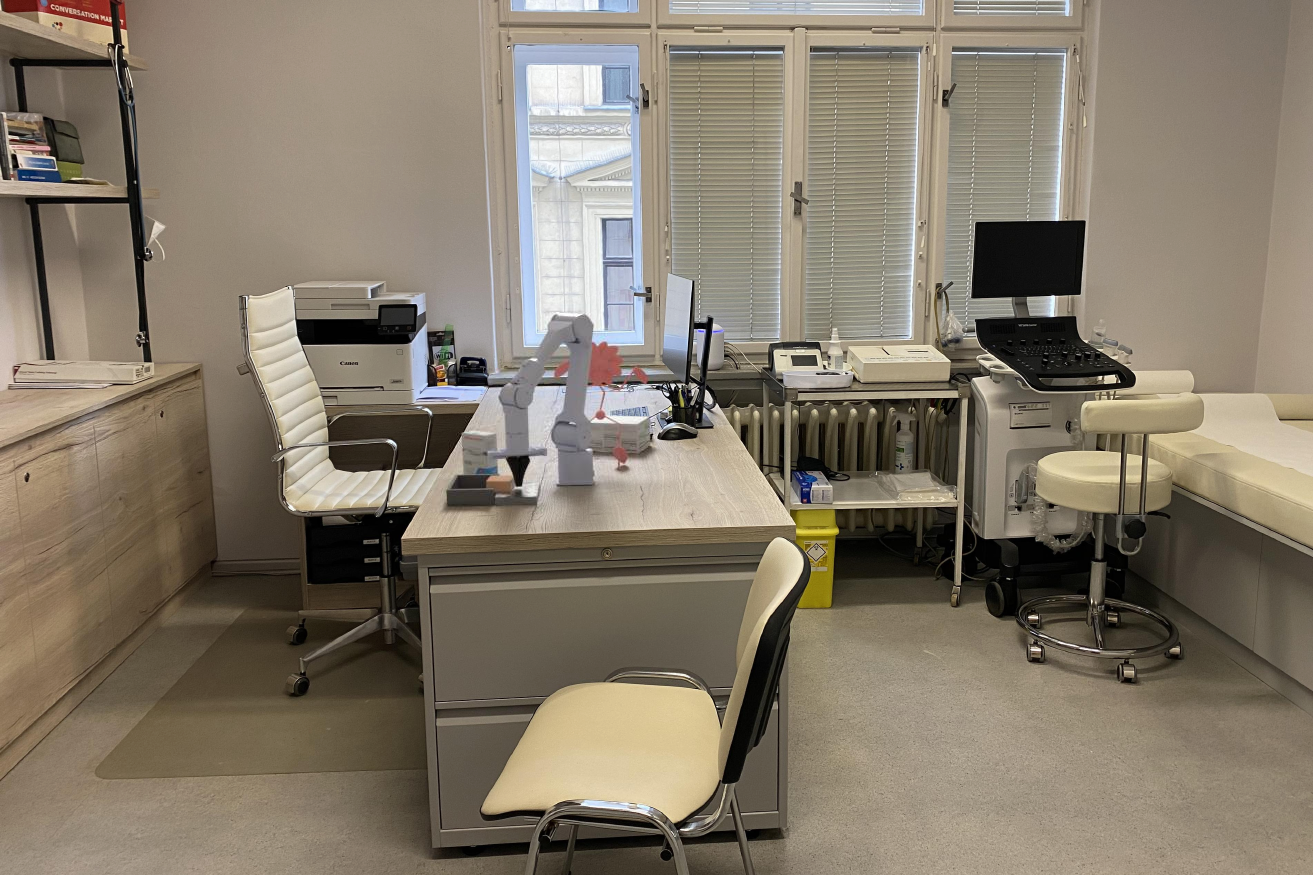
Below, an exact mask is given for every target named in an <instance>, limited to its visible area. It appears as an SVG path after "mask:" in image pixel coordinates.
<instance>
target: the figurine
mask: <svg viewBox="0 0 1313 875" xmlns="http://www.w3.org/2000/svg"><path fill="white" fill-rule="evenodd" d="M618 351H619V347H618V346H616V345H608V341H602V342H601V343H599V344H598V345H597V344H596V343H595V342H594V341H592V354H591V361H590V369H589V377H588V381H590V380H592V381H591V382H592V384H588V385H587V388H590V387H599V388H600V390H601V391H602V392H603V393H602V398H601V402H600V407H599V410H597V411H596V412H595V416H593V417H592V418H590V419H591V420H590V419H589V420H590V421H592V420H593V419H595V418H597V419H598V420H602V419H604V418H605V417H606V418H608V417H607V416H605V415H606V413H605V412H604V410H602V409H603V404H604V399H605V396H606V391H605V389H604V388H608V389H611V390H614V391H618V392H621V390H622V389H623V388H624V386H625V385H626V384H627V382H628V381H629V379H630V378H631V377H632V376H633V375H634V377H635V378H636V379H637V381H639V382H641V383H642V384H644V385H647V383H648V379H649V378H648V375H647V373H646V372H645V371H644V370H643V369H642V368H640V367H638V366H634V367H633V370H632V371H631V372H630V374H629V376H627V378H626V379H625V380H624V382H622V385H621V386H620V387H619V388H616V387H613V386H610V385H611V384H613V381H614V377H620V376H622V373H623V372H622V368H621V367H620V365H622V364H623V362H624V360H623V358H622V357H621V356H619V355H617V353H618ZM569 360H570V359H568V360H565V361H564V362H561V364H559V365H558V366H557V367H556V369H555V370H554V374H553V375H554V376H553V377H554V380H556V379H558V378H560V377H562V376H564V375H565V374H566V373H568V368H569ZM603 383H605V384H603ZM603 387H604V388H603ZM608 419H609V420H611V421H613V422H615V423H617V424H619V425H620V423H618V422H616V421H614V420H612V419H610V418H608ZM620 432H621V425H620V428H619V442H618V447H615V448H614V451H613V453H612V454H613V457H614V459H615V460H616V461H617V468H618V470H621V464H623V465H625V464H626V462H627V460H628V457H629V456H628V453H627V452H626V451H625V450H624V449H623V448H622V447H619V446H620ZM587 449H590V448H588V447H587ZM599 458H600V457H598V458H597V457H596V458H594V460H600V459H599Z"/></svg>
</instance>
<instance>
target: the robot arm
mask: <svg viewBox="0 0 1313 875" xmlns="http://www.w3.org/2000/svg"><path fill="white" fill-rule="evenodd" d="M594 327H595V326H594V322H593V321H592V320H591V319H590V317H589V316H588V315H587V314H585V313H580V314H577V313H562V312H556V313H554V314H553V315H552V317H551V318H550V320H549V322H547V331H546V334H545V336H544V337H543V339H542V340H541V343H540V344H539V346H538V348H537V349H536V352H535V353H534V354H533V356H532V358H528V359H525V360H523V361H522V363H521V364H520V365H521V366H520V368H519V369H518V371H517V372H516V374H515V376H513V377H512V379H511V381H510V382H509V383H508V382H507V384H505V385H503V387H502V388H501V390H500V391H499V392H500V393H499V394H498V396H497V397H498V400H499V403H500V405H501V407H502V412H503V413H504V435H505V437H504V440H505V448H502V449H497V450H495V451H488V460H494V459H497V460H502V459H503V460H505V461H506V463H507V465H508V467H509V469H510V471H511V473H512V476H513V477H514V481H515V486H516V487H522V484H523V481H524V478H525V474H526V471H527V469H528V467H529V465H530V463H531V458H530V457H541V456H543V457H547V456H548V448H547V447H546V446H531V447H530V440H529V438H530V436H529V435H530V434H529V433H530V432H529V431H530V430H529V406H530V405H531V404H532V403H533V400H534V393H535V390H536V389H535V388H536V387H537V386H538V384H539V383H540V381H541V380H542V378H543V376H544V375H545V373H546V369H545V365H547V363H548V362H549V360H550V359H551V358H552V357H553V355H554V354H555V352H556V351H557V350H558V349H559V347H560V346H561V345H562V344H564V345H566V347H567V348H568V350H569V351H570V355H569V359H568V360H569V368H568V371H567V378H566V384H565V391H564V392H565V394H564V400H563V401H564V402H563V409H562V411H561V412H560V413H558V414H557V415H556V417H555V419H554V424H553V426H552V428H551V431H550V440H551V442H552V443H553V444H554V445H555V449H557V470H558V471H557V473H558V476H556V477H557V478H556V483H555V484H556V486H587V485H589V486H590V485H591V486H592V485H593V484H594V477H595V469H594V456H593V454H594V452H593V449H587V447H588V446H589V444H590V442H591V438H592V435H591V428H590V427H591V422H590V419H589V417H587V416H586V415H585V406H586V399H587V392H588V391H587V390H588V387H587V385H589V380H588V377H589V369H590V361H591V354H592V342H593V334H594ZM573 423H574V424H573Z"/></svg>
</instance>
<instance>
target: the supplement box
mask: <svg viewBox="0 0 1313 875" xmlns="http://www.w3.org/2000/svg"><path fill="white" fill-rule="evenodd" d="M605 416H607V417H608V418H610V419H612V420H614V421H616V422H618V423H620V425H621V432H620V446H619V447H622V448H623V449H624V450H625V451H626V452H627V454H630V453H636V455H637V454H639V455H640V453H642V452H643V451H644V450H646V449H648V448H649V447H650V446H651V424H650V423H651V420H650V416H639V415H638V416H636V415H634V416H633V415H632V416H631V415H609V414H608V415H606V414H605ZM608 418H606V417H605V418H604V419H602V420H598V419H597V418H595V419H593V420H592V421H590V422H591V427H590V428H591V435H592V438H591V442H590V444H589V446H588V448H590V449H593V451H603V452H602V453H609V452H613V451H614V448H615V447H618V442H619V428H620V425H619V424H617V423H615V422H613V421H611V420H609V419H608ZM591 419H592V418H590V419H589V420H591ZM648 446H649V447H648ZM604 451H605V452H604ZM641 451H642V452H641Z"/></svg>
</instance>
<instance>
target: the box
mask: <svg viewBox="0 0 1313 875" xmlns="http://www.w3.org/2000/svg"><path fill="white" fill-rule="evenodd" d="M490 476H501V475H500V473H498V474H463V473H462V474H454V475H453V478H452V479H451V481H450V483H449V485H448V487H447V488H446V490H445V491H446V493H445V494H446V506H447V507H476V506H477V507H479V506H480V507H482V506H495V496H496V493H497V491H494V488H492V489H486V481H487V480H488V478H489V477H490Z"/></svg>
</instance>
